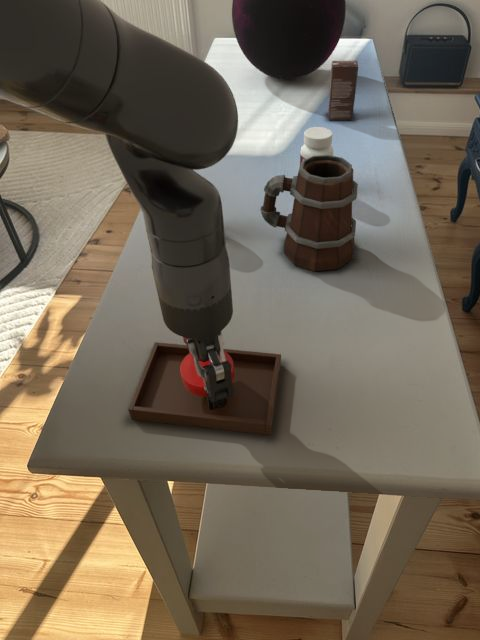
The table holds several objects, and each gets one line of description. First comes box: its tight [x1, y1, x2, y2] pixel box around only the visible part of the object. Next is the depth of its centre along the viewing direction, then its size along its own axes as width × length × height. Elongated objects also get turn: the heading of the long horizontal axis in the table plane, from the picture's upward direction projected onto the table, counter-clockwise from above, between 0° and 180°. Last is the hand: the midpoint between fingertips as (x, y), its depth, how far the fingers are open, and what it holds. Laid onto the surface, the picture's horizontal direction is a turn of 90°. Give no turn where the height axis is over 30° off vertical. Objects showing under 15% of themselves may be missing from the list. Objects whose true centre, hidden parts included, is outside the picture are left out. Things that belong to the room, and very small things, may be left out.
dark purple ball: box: [231, 0, 347, 80], centre depth 128 cm, size 30×30×30 cm
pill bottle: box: [299, 126, 334, 166], centre depth 92 cm, size 6×6×11 cm
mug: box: [259, 155, 359, 272], centre depth 77 cm, size 16×12×15 cm
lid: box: [180, 351, 235, 397], centre depth 59 cm, size 6×6×2 cm
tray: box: [127, 341, 282, 436], centre depth 61 cm, size 17×11×2 cm, turn 82°
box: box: [327, 60, 359, 121], centre depth 115 cm, size 6×4×12 cm
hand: (208, 384), depth 61 cm, fingers closed on lid, 6 cm apart
